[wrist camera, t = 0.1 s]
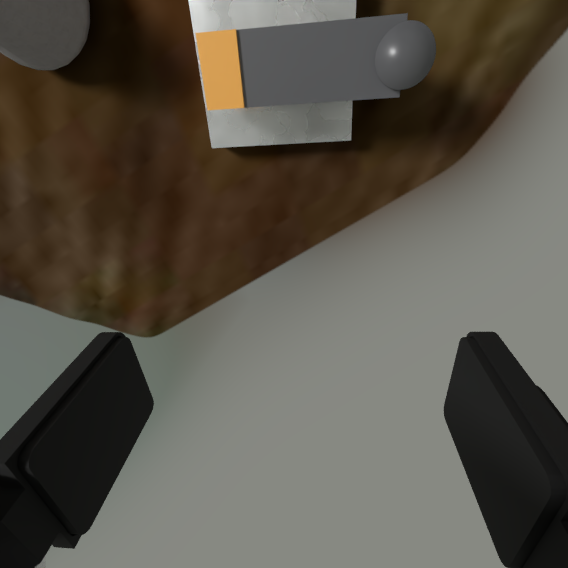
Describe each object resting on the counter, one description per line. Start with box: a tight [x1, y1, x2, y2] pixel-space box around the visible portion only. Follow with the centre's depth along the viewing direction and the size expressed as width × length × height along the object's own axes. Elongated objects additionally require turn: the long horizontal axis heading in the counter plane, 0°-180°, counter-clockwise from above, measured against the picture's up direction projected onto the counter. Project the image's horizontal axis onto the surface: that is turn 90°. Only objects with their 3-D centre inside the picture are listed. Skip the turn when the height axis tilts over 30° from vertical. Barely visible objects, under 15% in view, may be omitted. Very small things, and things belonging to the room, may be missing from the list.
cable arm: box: [195, 13, 436, 110], centre depth 26 cm, size 17×5×4 cm, turn 94°
